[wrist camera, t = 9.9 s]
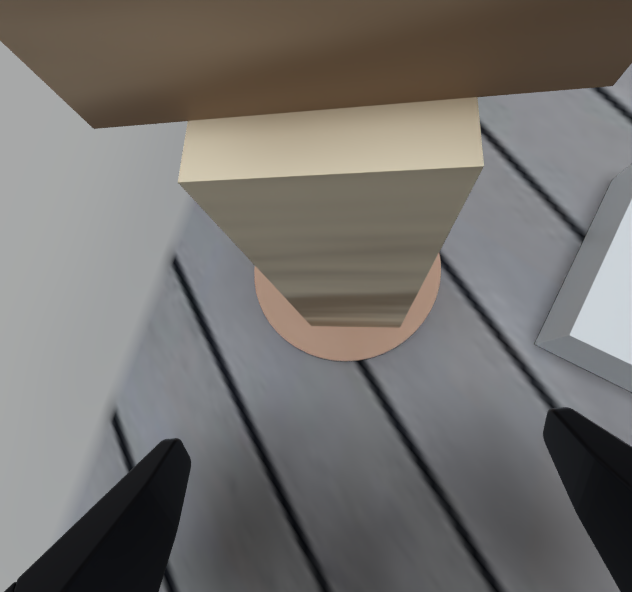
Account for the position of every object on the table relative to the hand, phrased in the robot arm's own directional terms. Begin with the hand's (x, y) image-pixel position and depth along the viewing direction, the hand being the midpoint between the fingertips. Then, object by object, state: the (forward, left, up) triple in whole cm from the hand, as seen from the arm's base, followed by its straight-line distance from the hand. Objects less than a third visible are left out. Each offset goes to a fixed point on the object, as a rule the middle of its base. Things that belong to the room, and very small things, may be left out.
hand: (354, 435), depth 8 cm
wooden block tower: (+5, +3, -8) cm, 10 cm away
